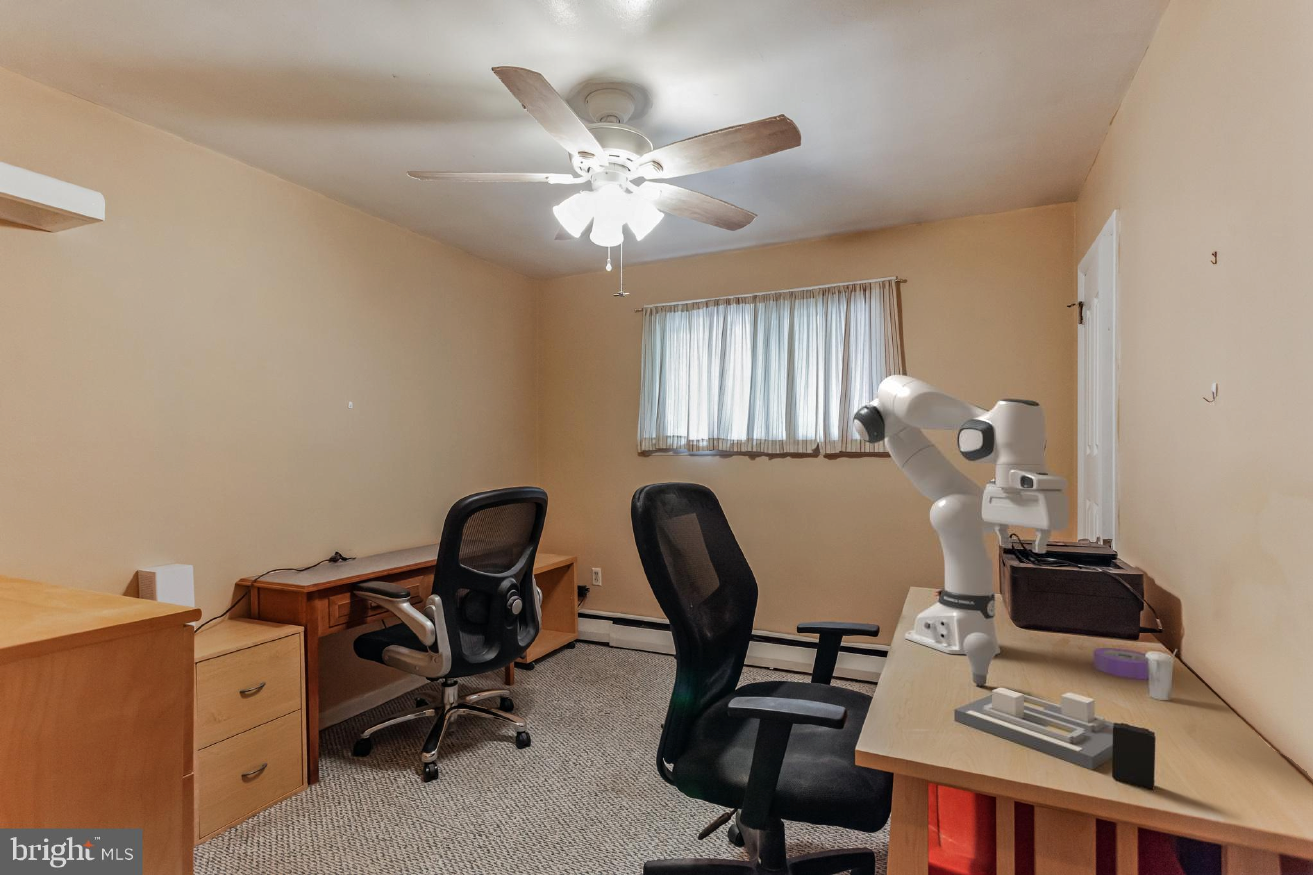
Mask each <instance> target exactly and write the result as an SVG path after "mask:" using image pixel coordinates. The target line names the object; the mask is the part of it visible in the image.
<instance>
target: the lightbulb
mask: <svg viewBox="0 0 1313 875" xmlns="http://www.w3.org/2000/svg"><path fill="white" fill-rule="evenodd" d="M963 647H964V651H965V653H966V654H965V655H966V656H967V659H968V661H969V663H970V664H969V665H970V670H971V673H972V674H971V675H972V682H973V683H974V684H976V686H978V687H982V686H984V685H986V684H987V675H988V673H989V667H990V664H991V662H992V660H994V657H995V656H996V654H995V653H996V646H995V643H994V642H993V640H992V639H991V638H990V637H989V636H987V635H986V634H983V633H972V634H970V635H968V636H967V637H966V639H965V640H964V644H963Z"/></svg>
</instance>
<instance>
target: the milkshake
mask: <svg viewBox="0 0 1313 875" xmlns="http://www.w3.org/2000/svg"><path fill="white" fill-rule="evenodd" d="M1177 651H1178V649H1177V648H1175V649H1174V652H1173V653H1172V655H1169V654H1167V653H1165V652H1161V651H1157V650H1155V651H1153V650H1149V651H1148V652H1146V653H1145V654H1146V655H1145V657H1146V665H1147V673H1148V679H1147V682H1148V694H1149V697H1150V698H1152V699H1155V700H1160V701H1170V700H1171V692H1172V682H1173V681H1172V680H1173V679H1172V678H1173V671H1174V662H1175V659H1174V657H1175V655H1176V653H1177Z"/></svg>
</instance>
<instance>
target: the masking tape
mask: <svg viewBox="0 0 1313 875" xmlns="http://www.w3.org/2000/svg"><path fill="white" fill-rule="evenodd" d="M1145 655H1146V653H1143V652H1140V651H1135V650H1130V649H1126V648H1125V649H1123V648H1117V647H1116V648H1115V647H1099V648H1095V649H1094V650H1093V667H1094V668H1095V669H1096V670H1099V671H1101V672H1103V673H1107V674H1109V675H1112V676H1116V677H1121V678H1127V679H1133V680H1134V679H1135V680H1148V673H1147V665H1146V657H1145Z"/></svg>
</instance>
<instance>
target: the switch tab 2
mask: <svg viewBox="0 0 1313 875" xmlns="http://www.w3.org/2000/svg"><path fill="white" fill-rule="evenodd" d="M1060 697H1061V701H1060V702H1061V713H1062V715H1063V716H1066V717H1070V718H1073V719H1076V720H1079V721H1083V722H1086V723H1091V722H1093V721H1095V716H1096V715H1095V714H1096V713H1095V711H1096V710H1095V707H1096V706H1095V705H1096V704H1095V701H1096V700H1095V699H1094V698H1090V697H1088V696H1084V695H1080V694H1077V693H1073V692H1066V693H1064V694H1062V695H1061V696H1060Z"/></svg>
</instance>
